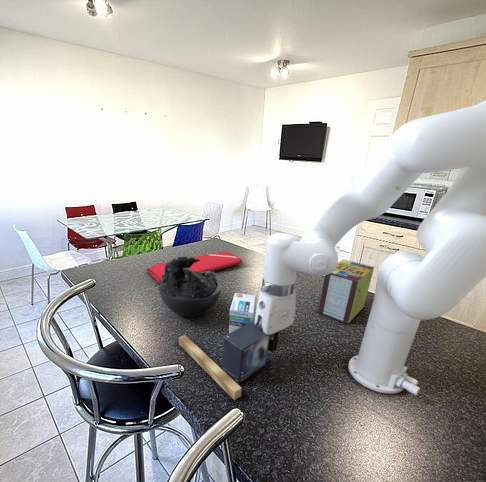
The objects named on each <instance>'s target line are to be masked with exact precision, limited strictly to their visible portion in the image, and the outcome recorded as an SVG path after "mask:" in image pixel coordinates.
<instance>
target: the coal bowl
mask: <svg viewBox="0 0 486 482" xmlns="http://www.w3.org/2000/svg"><path fill="white" fill-rule="evenodd" d="M194 257H195V256H190V257H188V256H186V255H185V256H178V257H177V258H172V259H171V260H170V261H168V263H167V264H165V270H164V274H163V275H162V280H161V283H159V285H158V292H159V295H160V299H161V300H162V302H163V304H164V305H165V306H166V308H168V309H169V310H170V311H172V312H173V313H175V314H177V315H180V316H182V317H183V316H184V317H198V316H200V315H201V316H202V315H203V314H205V313H207V312H208V311H210V310H211V309H212V308H213V307H214V306H215V305H216V303H217V302H218V300H219V297H220V295H221V292H222V285H221V282H220V281H219V280H218V278H217V276H216V272H215V271H214V270H213V269H211V270H210V271H205V272H197V271H191V270H190V269H189V268H190V267H191V266H192V265H193V263H196V262H198V261H200V260H199V259H195V258H194Z"/></svg>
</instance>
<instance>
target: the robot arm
mask: <svg viewBox="0 0 486 482" xmlns="http://www.w3.org/2000/svg"><path fill="white" fill-rule="evenodd" d="M457 169H460V170H459V173H458V175H457V177H456V178H455V179H454V181H453V182H452V184H451V185H450V187H448V190H447V191H446V192H445V193H444V194H443V195H442V197H441V198H440V199H439V201H438V202H437V203H436V204H435V206H434V207H432V209H431V211H430V212H429V213H428V214H427V215H426V216H425V218H424V219H423V220H422V222H421V223H420V224H419V226H418V228H417V230H416V240H417V242H418V244H419V245H420V246H421V248H423V249H424V251H426V252H427V255H426V256H423V255H421V254H419V253H417V252H413V251H398V252H395V253H393V254H391V255H389V256H388V257H387V258H385V259H384V260H383V261H382V263H381V265H380V266H379V269H378V271H377V275H376V280H375V281H376V282H375V291H374V296H373V300H372V304H371V309H370V312H369V316H368V319H367V324H366V326H365V329H364V334H363V337H362V341H361V344H360V347H359V351H358V354H357V355H355V356H352V357H351V358H350V360H348V364H347V365H348V366H347V368H348V369H347V370H348V372H349V373H350V375H351V377H352V378H353V379H354V380H355V381H356V382H357V383H359V384H360V385H362V386H363V387H365V388H367V389H369V390H372V391H374V392H377V393H381V394H387V395H388V394H389V395H391V394H398V393H401V392H402V391H404V389H405V390H406V391H407V392H408V393H411V394H412V395H414V396H418V395H419V393H420V391H421V387H419V386H418V384H419V380H417V379H415V378H414V377H411V376H409V374H408V373H407V372H408V371H407V370H408V367H407V366H406V365H405V364H406V361H407V359H408V356H409V353H410V352H411V351H410V350H411V349H412V346H413V342H414V340H415V337H416V334H417V332H418V330H419V327H420V323H421V321H428V320H433V319H438V318H439V317H441V316H444V315H445V314H447V313H448V312H450V311H451V310H452V309H454V308H455V307H456V306H457V305H458V304H459V303H461V301H462V300H463V299H464V298H466V296H468V294H470V293H471V292H472V290H473V289H475V287H477V286H478V284H480V283H481V282H482V280H484V279H485V278H486V100H483V101H481V102H479V103H478V104H475V105H471V106H466V107H463V108H459V109H456V110H450V111H447V112H443V113H442V112H441V113H437V114H433V115H428V116H424V117H419V118H415V119H412V120H410V121H408V122H406V123H404V124H403V125H401V126H400V127H399V128H398V129H397V130H396V131H395V132H394V133H393V134H392V135H391V136H390V138H388V140H387V141H386V142H385V144H383V146H381V148H380V149H379V151H378V152H377V153H376V155H374V157H373V158H372V159H371V160H370V161H369V163H367V165H366V166H365V168H363V170H362V171H361V172H360V173H359V174H358V176H357V177H355V179H354V180H353V181H352V182H351V184H350V185H349V186H348V187H347V188H346V189H345V190H344V191H343V192H342V193H341V194H339V196H338V197H336V198H335V200H334V201H333V202H331V203H330V204H329V205H328V207H326V209H324V211H323V212H321V214H320V215H319V216H318V217H317V219H316V220H315V221H314V223H312V224H311V226H310V227H309V228H308V229H307V231H306V232H305V233H304V234H303V236H302V238H301V239H300V238H299V237H298V236H296V235H294V234H290V233H281V232H278V233H273V234H271V235H269V236H268V237H267V239H266V244H265V252H264V254H265V255H264V263H263V273H262V283H261V287H260V292H259V296H258V299H257V302H256V307H255V316H254V323H255V326H258V327H257V329H259V330H260V331H262V330H263V332H264V333H266V334H267V335H269V343H268V350H267V351H270V352H271V353H273V352H275V351H278V343H279V337H281V335H282V331H283V330H284V329H286V328H288V327H290V326H293V324H294V321H295V316H296V305H297V304H296V303H297V297H296V296H297V295H296V289H295V286H296V280H297V279H296V278H297V272H300V273H304V274H307V275H310V276H315V277H325V275H328V274H330V273H332V272H333V271H334V270H335V268H336V267H337V264H338V263H339V255H338V252H337V250H336V248H335V247H336V246H337V244H339V242H340V241H341V240H342V239H343V238H344V237H345V236H346V234H348V232H350V231H351V230H352V229H353V228H355V227H356V226H357V225H359V224H361V223H363V222H365V221H369V220H373V219H375V218H378V217H380V216H382V215H383V214H385V213H386V212H387V211H389V209H390V208H391V207H392V206H393V204H395V203H396V202H397V201H398V200H399V198H400V197H401V196H402V195H403V194H404V193H405V192H406V191H407V190H408V189H409V188H410V187H411V186H412V185H413V184H414V183H415V182H416V181H417V180H418V179H419V178H420V177H421V176H422V174H423V173H424V174H431V173H432V174H433V173H434V174H435V173H442V172H446V171H453V170H457Z"/></svg>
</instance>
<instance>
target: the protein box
mask: <svg viewBox="0 0 486 482" xmlns="http://www.w3.org/2000/svg"><path fill="white" fill-rule="evenodd" d="M374 269H375V267H374V266H372V265H367V264H364V263H360V262H357V261H352V260H348V259H344V258H343V259H341V260H340V261H338V264H337V267H336V268H335V270H334V271H333V272H332V273H330V274H328V275H325V276H324V278H323V283H322V289H321V294H320V300H319V305H318V311H317V313H319V314H321V315H325V316H326V317H330V318H333V319H335V320H337V321H339V322H342V323H345V324H346V325H347V324H349V323H351V321H352V320H353V319H354V318H355V317H356V316H357V315H358V314H359V313H360V312H361V310H362V309H363V308H364V307H365V304H366V299H367V296H368V293H369V289H370V285H371V281H372V277H373V273H374Z"/></svg>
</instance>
